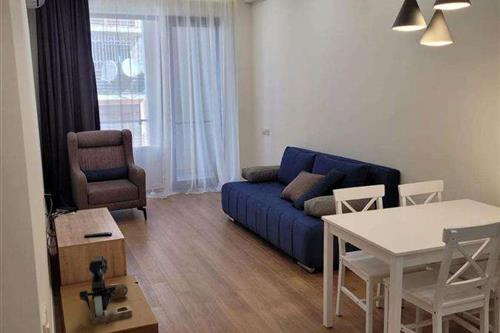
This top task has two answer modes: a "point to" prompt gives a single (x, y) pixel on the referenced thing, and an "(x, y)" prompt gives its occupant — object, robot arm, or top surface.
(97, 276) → the robot arm
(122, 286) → the tin
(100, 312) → the post
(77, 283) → the top surface
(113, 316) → the brown slotted board
